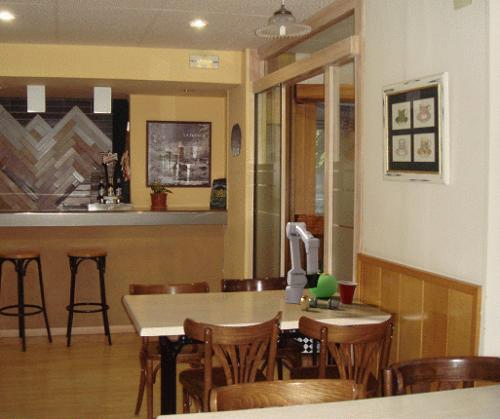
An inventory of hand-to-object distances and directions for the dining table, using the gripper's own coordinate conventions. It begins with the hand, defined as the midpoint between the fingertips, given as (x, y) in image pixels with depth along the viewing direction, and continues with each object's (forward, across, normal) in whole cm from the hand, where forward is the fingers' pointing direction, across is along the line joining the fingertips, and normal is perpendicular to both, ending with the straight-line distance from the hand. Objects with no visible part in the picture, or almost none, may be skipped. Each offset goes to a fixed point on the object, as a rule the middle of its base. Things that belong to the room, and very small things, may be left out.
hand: (313, 288), depth 375 cm
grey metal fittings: (+11, +11, -2) cm, 16 cm away
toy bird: (+8, +42, +5) cm, 43 cm away
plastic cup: (+10, +30, -12) cm, 33 cm away
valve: (+12, +1, +5) cm, 13 cm away
